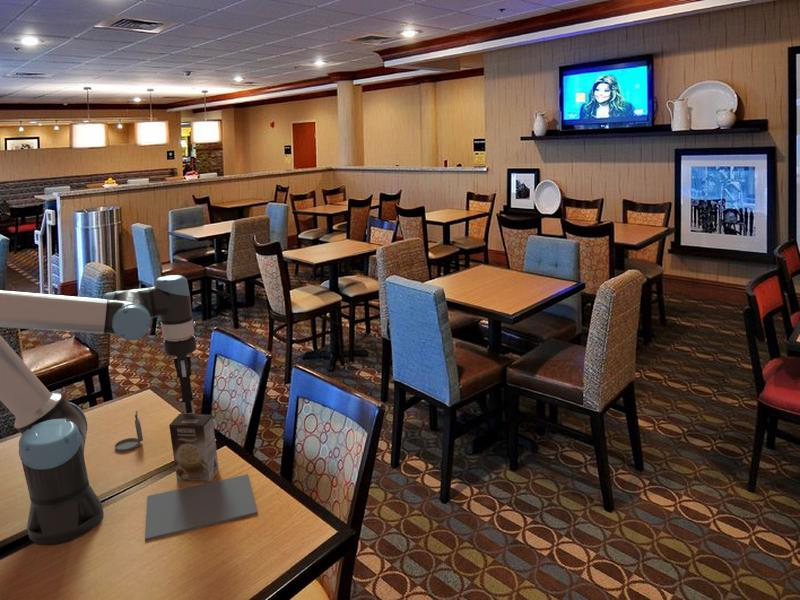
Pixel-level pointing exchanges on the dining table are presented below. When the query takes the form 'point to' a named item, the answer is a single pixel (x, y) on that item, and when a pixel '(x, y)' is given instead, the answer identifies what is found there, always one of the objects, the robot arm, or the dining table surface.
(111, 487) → the dining table surface
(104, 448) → the dining table surface
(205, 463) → the coffee box
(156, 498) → the mat
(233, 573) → the dining table surface
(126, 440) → the pocket watch
